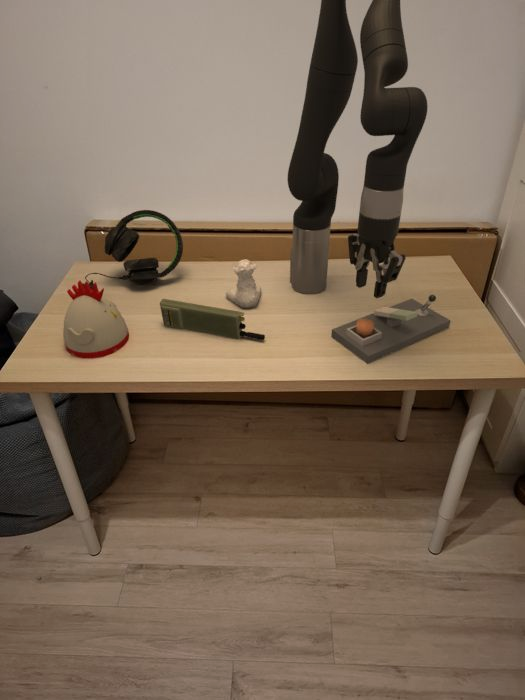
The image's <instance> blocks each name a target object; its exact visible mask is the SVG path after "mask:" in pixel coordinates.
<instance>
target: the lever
mask: <svg viewBox="0 0 525 700" xmlns="http://www.w3.org/2000/svg"><path fill="white" fill-rule="evenodd" d="M436 300H437V296H436V295H435V294H431V295H429V296H428V299H427V300H426V302H425V303H424V304H423V305H424V306H423V307H422V308H421V311H422V312H424V311H425V310H426V309H427V308H429V306H430V305H431V304H432V303H434V302H435V301H436Z"/></svg>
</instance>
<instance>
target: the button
mask: <svg viewBox="0 0 525 700" xmlns="http://www.w3.org/2000/svg"><path fill="white" fill-rule="evenodd" d="M358 319H359V320H358V321H357V325H356V332H357V333H358V334H360V335H365V336H366V335H370V334H372V333H373V326H374V323H373V321H371V320H369V319H360V318H358Z"/></svg>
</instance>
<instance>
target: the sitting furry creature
mask: <svg viewBox="0 0 525 700" xmlns="http://www.w3.org/2000/svg"><path fill="white" fill-rule="evenodd" d="M257 267H258V265H257V263H256V264H255V263H253V262H252V261H251V260H249V259H245V258H244V259H241V260H239V261H238V262H237V263H236V265H235V266H234V267H233V268H232V270H233V271H234V274H236V276H237V278H238V279H237V281H236V289H232V288H231V289H228V290H226V291H225V296H226V298H227V300H228V301H231V302H232V303H233V304H236V305H237V306H239V307H241V308H243V309H249V308H253V307H255V306H257V304H258V302H259V300H260V297H261V294H262V287H261V286H257V283H256V280H255V279H254V275H253V273H254V272H255V271H256V269H257Z"/></svg>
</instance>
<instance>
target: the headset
mask: <svg viewBox="0 0 525 700" xmlns="http://www.w3.org/2000/svg"><path fill="white" fill-rule="evenodd" d="M146 217H147V218H153V219H157V220H158V221H161V222H163V223H165V224H166V225H167V227H168V228H169V230H170V231H171V232H172V234H173V235H174V238H175V241H176V242H175V243H176V249H175V254H174V257H173V259H172V261H170V263H169V264H168V265H167V268H165V269H164V270H163V271H161V272H159V270H158V268H160V265H159V264H160V263H159V260H158V258H157V257H146V258H136V259H130V260H126V261H125V259H127V258H128V256H129V255H130V254H132V252H133V250H134V249H135V247H136V245H137V243H138V242H139V239H140V234H139V233H138V232H137V231H136V230H134V229H133V228H128V227H127V225H128V224H129V223H131V222H132V221H134V220H137V219H140V218H146ZM183 252H184V242H183V238H182V235H181V232H180V229H178V227H177V225H176V224H175V223H174V222H173V220H172V219H171V218H170V217H168V216H167V215H165V214H164V213H163V212H162V213H161V212H159V211H155V210H151V209H140V210H136V211H133V212H132V213H129V214H127V215H125V216H124V217H122V218H121V219H120V220H119V222H118V223H117V224H116V225H115V226H114V227H112V228H111V229H110V230H109V231H108V233H107V234H106V236H105V239H104V254H106V255H108V256H112V258H113V259H114V260H115V261H116V262H118V263H122V262H123V261H124V262H123V268H124V271H125V272H128V273H127V274H124V275H122V276H118V277H116V276H109V275H106V274H103V273H99V272H91V273H88V274H87V275H85V277H84V279H85V281H87V282H88V284H89V286H90V288H91V290H92V289H93V284H94V283H95V282H94V280H93V279H91V280H90V281H89V280H88V279H87V277H88V276H90V275H100V276H102V277H106V278H109V279H110V278H111V279H116V280H123V281H129V282H131V283H132V284H133V283H134V284H136V285H146V284H152V283H153V282H154V281H156V280H157V279H161V278H164V277H166V276H167V275H169V274H170V273H171V272H173V271H174V270H175V269H176V267H178V265H179V263H180V262H181V259H182V257H183ZM82 284H83V286H84V288H85V282H82Z"/></svg>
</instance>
